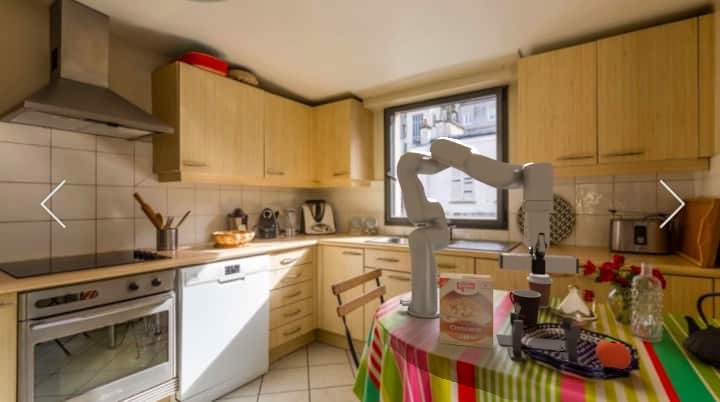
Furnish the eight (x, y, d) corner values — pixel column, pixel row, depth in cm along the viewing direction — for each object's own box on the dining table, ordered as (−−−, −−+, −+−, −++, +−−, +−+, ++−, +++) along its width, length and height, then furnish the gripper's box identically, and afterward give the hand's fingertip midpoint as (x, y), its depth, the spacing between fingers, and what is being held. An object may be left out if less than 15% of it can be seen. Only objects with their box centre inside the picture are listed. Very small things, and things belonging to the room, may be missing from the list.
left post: (511, 360, 86) (511, 320, 85) (507, 348, 92) (507, 312, 92) (526, 361, 85) (526, 321, 85) (521, 350, 91) (521, 313, 91)
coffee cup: (530, 308, 125) (529, 277, 125) (524, 300, 134) (523, 271, 134) (556, 310, 123) (556, 278, 123) (548, 302, 132) (548, 272, 131)
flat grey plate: (499, 345, 94) (499, 344, 94) (496, 335, 101) (496, 334, 101) (579, 353, 89) (579, 352, 89) (570, 342, 95) (570, 341, 95)
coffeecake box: (439, 343, 96) (438, 277, 95) (439, 333, 103) (439, 271, 102) (494, 349, 92) (493, 280, 91) (491, 338, 99) (490, 274, 98)
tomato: (585, 360, 85) (585, 333, 85) (610, 359, 86) (610, 332, 86) (611, 377, 77) (611, 347, 77) (638, 375, 78) (639, 345, 78)
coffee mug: (544, 328, 106) (544, 297, 106) (516, 326, 107) (516, 296, 107) (533, 315, 117) (533, 287, 117) (507, 314, 119) (507, 286, 119)
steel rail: (500, 269, 93) (500, 254, 93) (498, 265, 97) (498, 252, 96) (579, 274, 87) (579, 259, 87) (573, 270, 91) (574, 256, 91)
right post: (567, 366, 82) (567, 325, 82) (559, 354, 88) (559, 316, 88) (584, 368, 81) (584, 326, 81) (574, 355, 88) (574, 317, 87)
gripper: (517, 205, 100) (516, 265, 101) (528, 208, 84) (527, 278, 85) (545, 206, 98) (544, 266, 99) (561, 208, 82) (560, 280, 83)
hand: (536, 271), depth 92 cm, fingers closed on steel rail, 4 cm apart
